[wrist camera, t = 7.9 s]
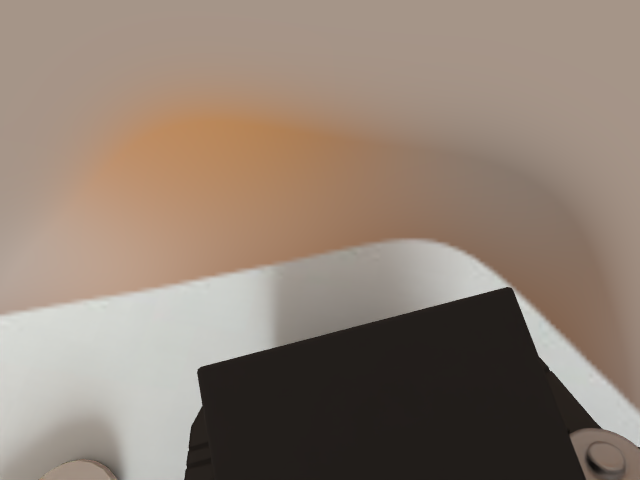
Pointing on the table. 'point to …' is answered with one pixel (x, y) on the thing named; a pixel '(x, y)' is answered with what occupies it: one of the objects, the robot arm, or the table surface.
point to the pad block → (393, 402)
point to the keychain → (80, 471)
